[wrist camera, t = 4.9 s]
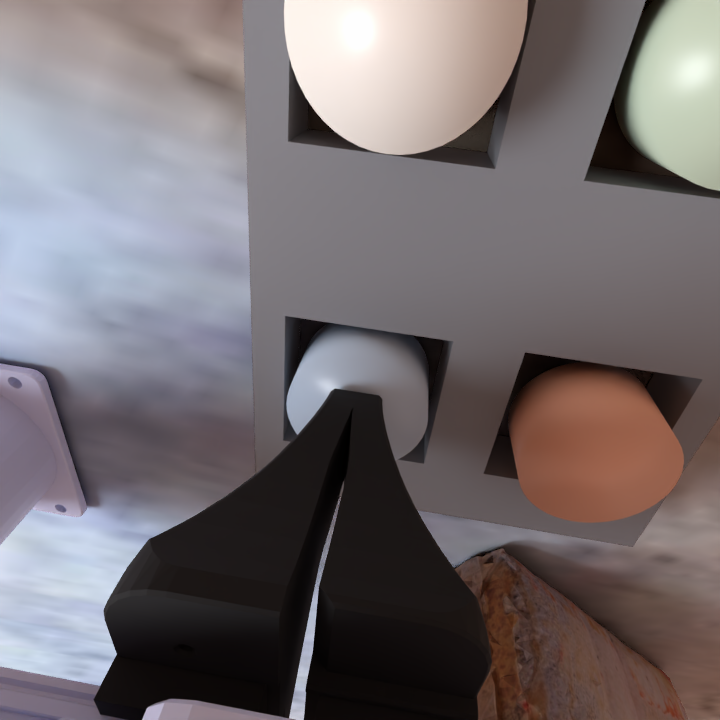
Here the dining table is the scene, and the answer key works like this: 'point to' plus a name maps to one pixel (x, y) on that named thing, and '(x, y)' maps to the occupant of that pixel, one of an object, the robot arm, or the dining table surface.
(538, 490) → the terracotta button
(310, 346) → the blue button
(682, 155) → the sage button
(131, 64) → the dining table surface
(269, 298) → the button panel
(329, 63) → the cream button
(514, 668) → the food item
